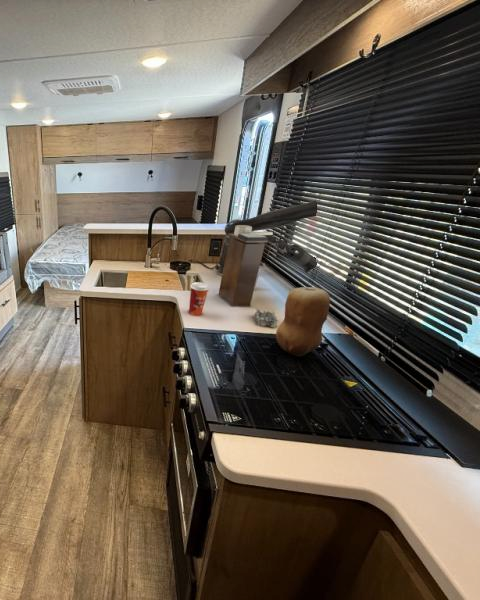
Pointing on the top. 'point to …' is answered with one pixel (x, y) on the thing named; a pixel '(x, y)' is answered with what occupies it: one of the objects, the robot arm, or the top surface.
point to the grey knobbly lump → (265, 318)
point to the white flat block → (248, 230)
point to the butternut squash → (303, 320)
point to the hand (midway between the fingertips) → (273, 239)
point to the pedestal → (240, 270)
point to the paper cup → (197, 298)
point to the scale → (252, 237)
